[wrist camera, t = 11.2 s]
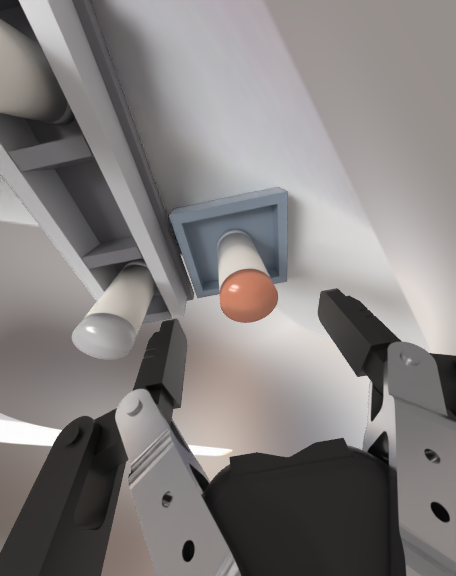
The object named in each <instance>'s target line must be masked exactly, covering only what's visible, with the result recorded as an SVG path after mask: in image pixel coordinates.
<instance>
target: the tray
mask: <svg viewBox="0 0 456 576" xmlns="http://www.w3.org/2000/svg"><path fill="white" fill-rule="evenodd" d="M169 218H170V220H171V223H172V226H173V229H174V232H175V235H176V238H177V241H178V243H179V246H180V249H181V252H182V255H183V258H184V261H185V264H186V266H187V269H188V272H189V275H190V278H191V281H192V284H193V286H194V289H195V292H196V295H197V298H201V297H206V296H211V295H217V294H220V290H219V274H218V258H217V241H218V239H219V237H220V236H221V234H222V233H224V232H225V231H227V230H229V229H233V228H237V229H242V230H244V231H245V232H247V233H248V234H249V236H250V237H251V239H252V241H253V244H254V246H255V248H256V250H257V252H258V254H259V256H260V258H261V260H262V262H263V264H264V266H265V268H266V270H267V272H268V274H269V276H270V278H271V280H272V282H273V284H275V283H281V282H286V281H287V191H286V190H284V189H281V188H279V187H275V188H271V189H266V190H261V191H256V192H251V193H247V194H242V195H237V196H232V197H227V198H223V199H218V200H213V201H208V202H204V203H199V204H194V205H189V206H184V207H180V208H175V209H173V211H172V212H171V214H170V215H169Z"/></svg>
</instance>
